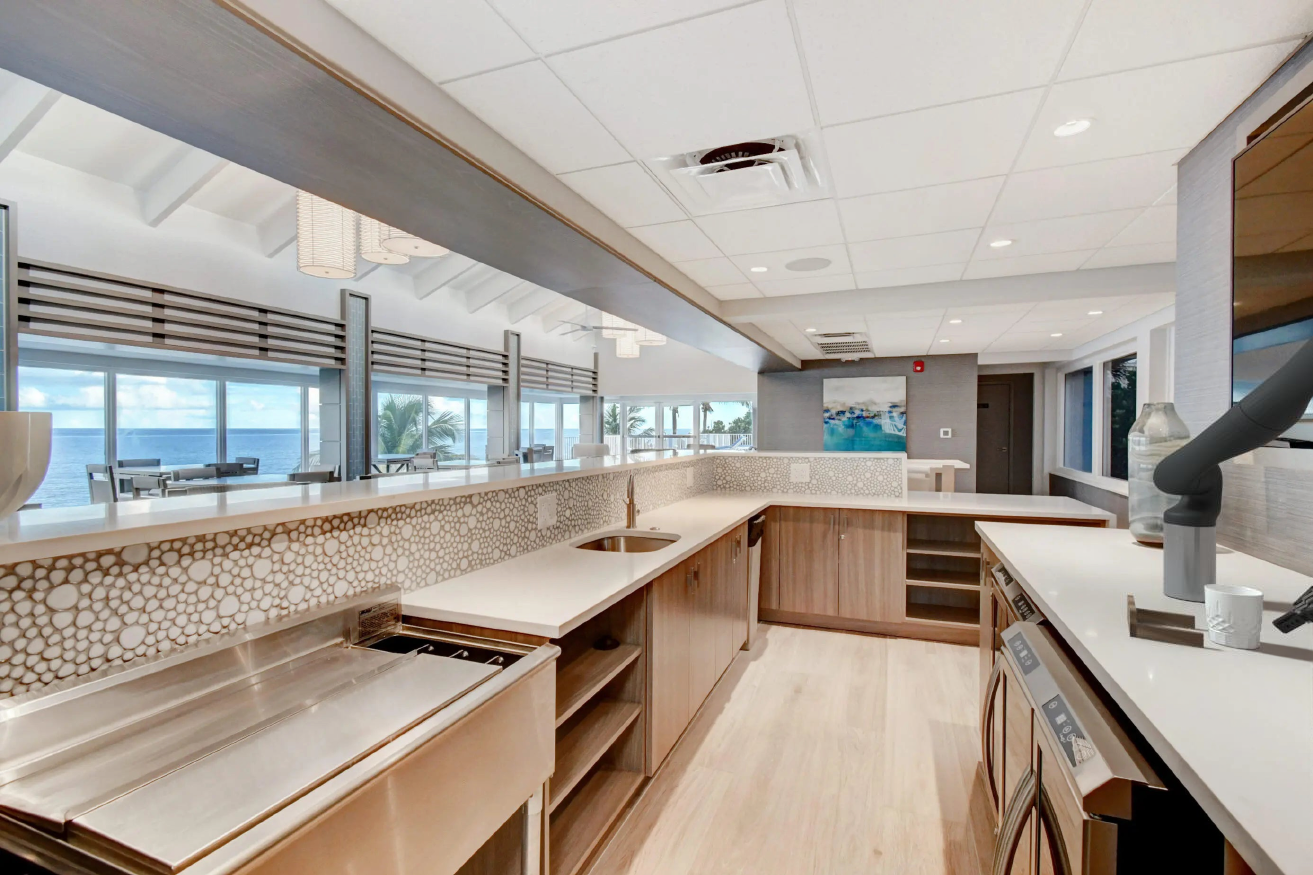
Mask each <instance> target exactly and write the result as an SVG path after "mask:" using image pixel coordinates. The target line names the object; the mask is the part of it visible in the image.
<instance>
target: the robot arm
mask: <svg viewBox="0 0 1313 875" xmlns="http://www.w3.org/2000/svg"><path fill="white" fill-rule="evenodd" d="M1311 400H1313V335H1312V336H1311V337H1310V338H1309V339H1308V340H1307V341H1306V342H1305V343H1304V344H1303V345H1302V346H1301V348H1299V349H1298V350H1297V351H1296V352H1295V354H1293V356H1292V357H1291V358H1290V359H1289V360H1288V361H1286V363H1285V364H1283V365H1282V366H1281V368H1279V369H1277V371H1275V372H1274V373H1273V374H1272V375H1270V376H1269V377H1268V378H1266V379H1265V380H1264V381H1263V382H1262V383H1261V384H1259V385H1258V386H1256V388H1254V389H1253V390H1252V391H1251V392H1249V393H1248V394H1247V395H1246V396H1244V397H1243V398H1242V399H1240V400H1239V401H1238V402H1236V403H1235V404H1234V405H1233V406H1231V407H1230V408H1229V409H1228V410H1227V411H1226V412H1225V413H1224V414H1222V416H1219V418H1218V419H1217V420H1215V421H1214V422H1213V423H1211V424H1210V425H1209V426H1208V427H1207V428H1206V429H1204V430H1203V431H1201V433H1199V434H1198V435H1197V436H1196V437H1194V438H1193V439H1191V440H1190V441H1189V442H1187V443H1186V444H1184V445H1182V446H1181V447H1180V448H1178V449H1177V450H1175V451H1173V452H1171V453H1170V454H1169V455H1167V456H1165V457H1164V458H1163V459H1161V460H1160V461H1159V462H1158V464H1157V465H1156V467H1155V468H1154V471H1153V474H1152V480H1153V484H1154V486H1155V488H1156V489H1157V490H1159V491H1161V492H1162V493H1164V494H1167V495H1172V496H1180V499H1179V501H1178V503H1176V504H1175V505H1173V506H1171V507H1169V508H1167V509H1166V510H1164V511H1163V517H1162V518H1163V528H1162V529H1163V530H1162V532H1163V557H1162V558H1163V560H1162V561H1163V566H1162V567H1163V571H1162V572H1163V577H1162V578H1163V580H1162V581H1163V584H1162V585H1163V588H1162V589H1163V592H1162V593H1163V594H1164V595H1165V596H1168V597H1170V598H1175V599H1178V600H1184V601H1185V600H1186V601H1191V602H1200V603H1201V602H1203V603H1205V589H1204V586H1205V585H1209V584H1217V519H1218V518H1219V516H1220V514H1221V511H1222V500H1223V499H1222V498H1223V490H1224V489H1223V485H1224V481H1223V480H1224V478H1223V472H1222V469H1221V467H1220V465H1219V464H1222V463H1223V462H1225V461H1228V460H1230V459H1233V458H1235V457H1236V458H1237V457H1239V456H1242V455H1243V454H1244V455H1245V454H1246V453H1249V452H1252V451H1254V450H1257V449H1259V448H1261V447H1263V446H1265V445H1267V444H1269V443H1271V442H1272V441H1274V440H1275V439H1277V438H1278V437H1281V435H1282V434H1284V433H1286V432H1287V431H1289V430H1290V429H1291V428H1292V427H1293V426H1294V425H1296V424H1297V423H1298V422H1299V421H1300V420H1301V419H1302V417H1303V415H1304V414H1305V413H1306V411H1307V409H1308V407H1309V404H1310V402H1311ZM1271 624H1272V626H1274V627H1275V628H1277V630H1279V631H1280V632H1281V633H1283V634H1284V635H1285V634H1289V633H1291V632H1293V631H1294V630H1297V629H1298V628H1299V627H1302V626H1304V625H1305V624H1313V585H1311V586H1310V587H1309V588H1308V589H1307V590H1306V591H1305V592H1303V594H1302V595H1301V596H1299V597H1298V598H1297V599H1296V600H1295V601H1294V602H1293V603H1292V607H1291V610H1290V611H1288V612H1286V613H1285V614H1283V615H1281V616H1279V617H1277V618H1276V619H1273V620H1272V621H1271Z"/></svg>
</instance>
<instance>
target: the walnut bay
mask: <svg viewBox="0 0 1313 875" xmlns="http://www.w3.org/2000/svg"><path fill="white" fill-rule="evenodd" d="M1126 603H1127V604H1126V609H1127V611H1126V612H1127V613H1126V614H1127V617H1126V618H1127V626H1128V633H1129V637H1132V638H1138V639H1145V640H1152V641H1157V642H1162V643H1163V642H1164V643H1170V644H1176V645H1181V644H1182V645H1183V646H1187V647H1188V646H1189V647H1193V648H1194V647H1196V648H1201V649H1204V646H1205V644H1204V643H1205V638H1204V637H1205V636H1204V635H1205V634H1204V632H1200V631H1192V630H1196V616H1195V615H1192V614H1186V613H1185V614H1184V613H1177V612H1169V611H1162V610H1154V609H1148V608H1140V607H1136V601H1135V597H1134V595H1131V594H1127V596H1126ZM1138 622H1140V623H1138ZM1146 623H1149V624H1146ZM1151 624H1153V625H1151ZM1155 624H1156V625H1155ZM1157 625H1158V626H1157ZM1159 625H1163V626H1159ZM1164 626H1165V627H1164ZM1166 626H1167V627H1166ZM1168 626H1169V627H1168ZM1175 626H1176V628H1173V627H1175ZM1181 627H1183V628H1182V629H1179V628H1181ZM1188 628H1191V629H1190V630H1186V629H1188Z"/></svg>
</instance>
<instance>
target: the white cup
mask: <svg viewBox="0 0 1313 875" xmlns="http://www.w3.org/2000/svg"><path fill="white" fill-rule="evenodd" d="M1204 589H1205V602H1204V603H1205V606H1204V607H1205V616H1206V618H1205V619H1206V624H1207V631H1208V632H1207V634H1208V636H1207V637H1208V639H1209V641H1211V642H1213V643H1216V644H1218V645H1221V646H1225V647H1230V648H1234V649H1240V650H1241V649H1242V650H1256V649H1258V648H1260V642H1261V635H1260V634H1261V632H1262V623H1263V614H1264V613H1263V612H1264V596H1265V594H1264V593H1263V592H1262V591H1261V590H1258V589H1254V588H1251V587H1246V586H1240V585H1239V586H1238V585H1231V584H1221V583H1220V584H1219V583H1218V584H1217V583H1216V584H1209V585H1205V586H1204Z"/></svg>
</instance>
